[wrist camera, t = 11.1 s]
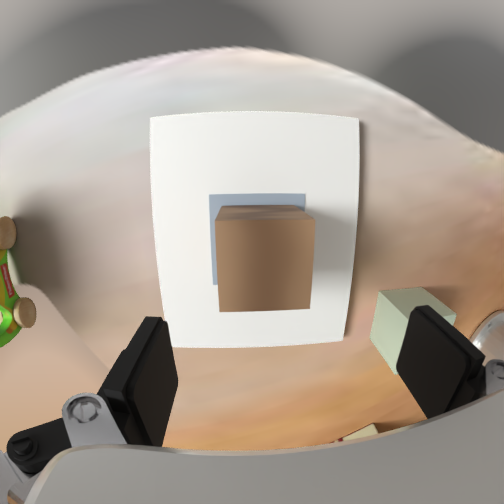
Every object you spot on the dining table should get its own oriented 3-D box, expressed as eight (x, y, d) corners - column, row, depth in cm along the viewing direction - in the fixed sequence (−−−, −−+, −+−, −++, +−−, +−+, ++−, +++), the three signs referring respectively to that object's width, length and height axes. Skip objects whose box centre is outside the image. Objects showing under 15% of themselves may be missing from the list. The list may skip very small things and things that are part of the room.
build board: (353, 120, 23) (359, 118, 21) (339, 334, 29) (342, 341, 28) (154, 119, 22) (149, 117, 21) (172, 340, 28) (169, 347, 27)
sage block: (421, 286, 28) (456, 314, 21) (410, 331, 30) (439, 363, 23) (378, 290, 28) (411, 322, 21) (369, 337, 29) (394, 374, 23)
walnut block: (293, 204, 23) (315, 219, 17) (291, 272, 25) (309, 308, 18) (221, 205, 23) (214, 220, 16) (224, 273, 25) (219, 312, 18)
